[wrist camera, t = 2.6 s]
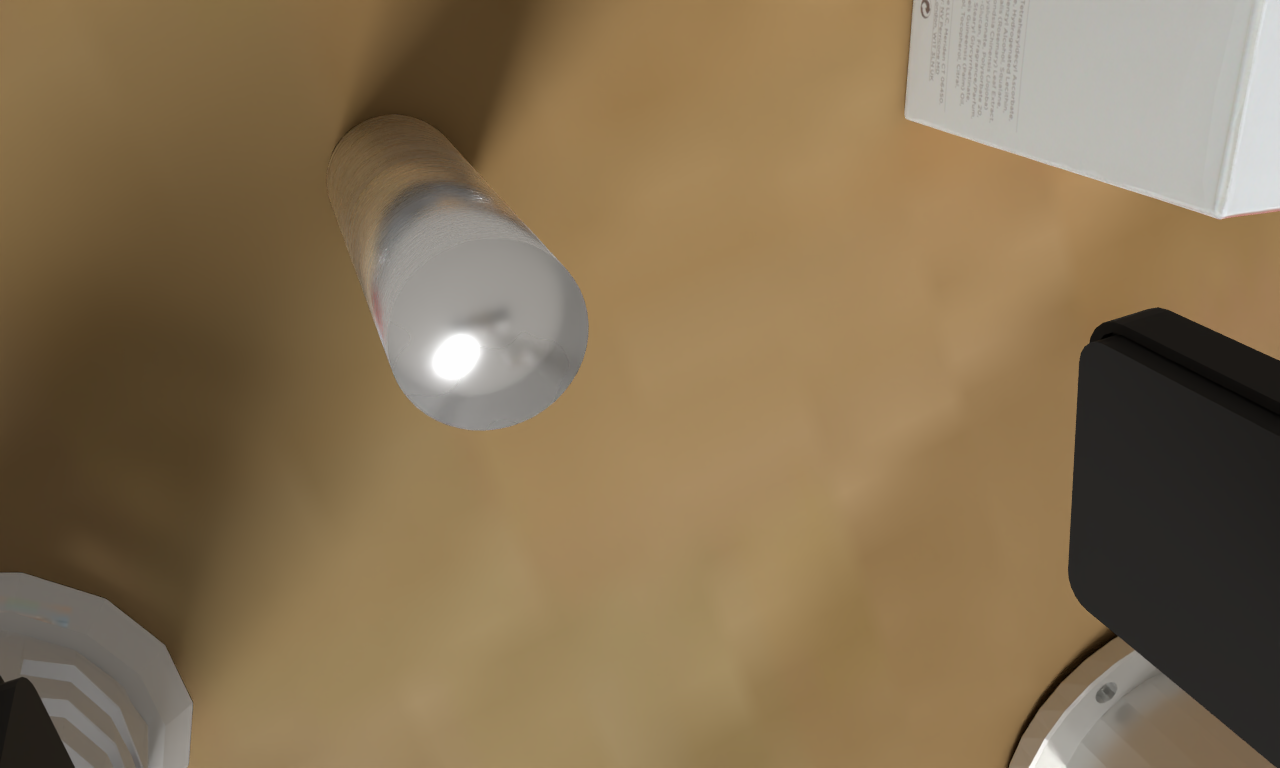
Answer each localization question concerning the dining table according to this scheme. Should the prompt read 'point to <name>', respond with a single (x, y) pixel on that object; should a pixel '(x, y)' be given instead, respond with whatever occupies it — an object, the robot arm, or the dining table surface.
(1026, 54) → the small box
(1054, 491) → the dining table surface
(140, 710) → the french press
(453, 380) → the steel pin
